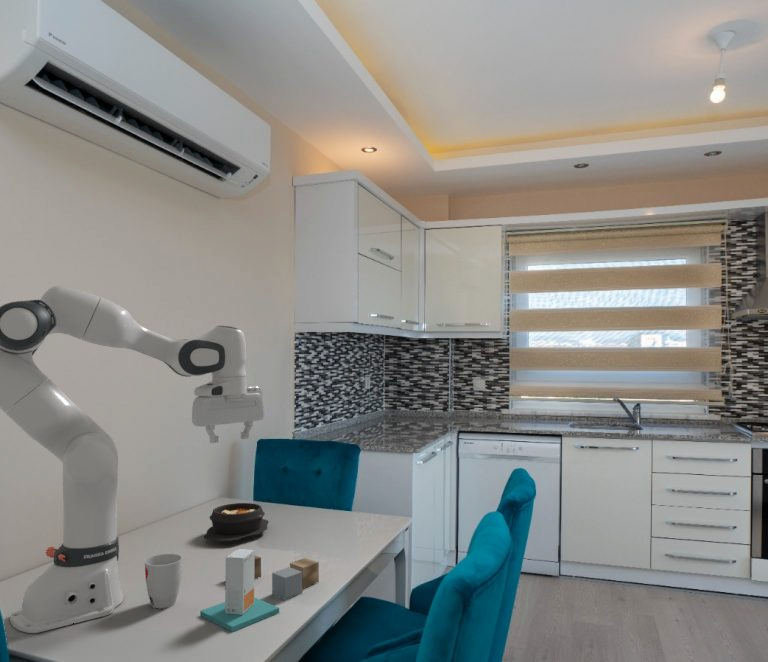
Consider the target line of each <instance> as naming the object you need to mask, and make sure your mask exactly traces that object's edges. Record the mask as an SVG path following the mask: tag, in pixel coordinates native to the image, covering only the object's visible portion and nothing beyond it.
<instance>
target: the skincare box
mask: <svg viewBox="0 0 768 662" xmlns="http://www.w3.org/2000/svg"><path fill="white" fill-rule="evenodd" d="M255 553H256V552H255V550H254V549H244V548H238V549H236V550H235V551H233V552H231V553H230V554H229V555H227V556H226V557H225V583H224V584H225V592H224V593H225V594H224V595H225V597H224V599H225V600H224V602H225V613H226V614H237V615H243V614H244V613H245V612H246V611H247V610H248V609H249V608H250V607H251V606H253V605H254V597H255V579H254V555H255Z"/></svg>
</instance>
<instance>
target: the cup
mask: <svg viewBox="0 0 768 662" xmlns="http://www.w3.org/2000/svg"><path fill="white" fill-rule="evenodd" d="M183 558H184V557H183V556H182V555H181V554H178V553H162V554H157V555H153V556H150V557H148V558H146V559H145V560H144V573H145V574H144V575H145V584H146V591H147V596H148V599H149V602H150V605H151V607H152V608H154V609H156V608H159V609H161V608H162V609H166V608H171V607H172V605H173V606H174V605H175V604H176V602H177V598H178V594H179V591H180V586H181V582H182V572H183V571H182V570H183ZM170 606H171V607H170ZM162 609H161V610H162Z"/></svg>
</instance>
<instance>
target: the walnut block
mask: <svg viewBox="0 0 768 662" xmlns="http://www.w3.org/2000/svg"><path fill="white" fill-rule="evenodd" d="M258 577H260V578H262V557H261V556H257V555H255V554H254V580H256V579H255V578H257V579H259V578H258Z"/></svg>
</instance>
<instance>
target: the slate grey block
mask: <svg viewBox="0 0 768 662" xmlns="http://www.w3.org/2000/svg"><path fill="white" fill-rule="evenodd" d="M271 582H272V585H271V586H272V587H271V589H272V591H271V592H272V595H274V596H276V597H279V598H281V599H283V600H285V599H286V600H288V599H290V598H293V596H294V597H295V596H298V594H299V595H301V594H303V588H302V572H301V571H298V570H296V569H293V568H290V566H288V567H285V568H283V569H279V570H277V571H273V572H272V573H271ZM300 593H301V594H300Z"/></svg>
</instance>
